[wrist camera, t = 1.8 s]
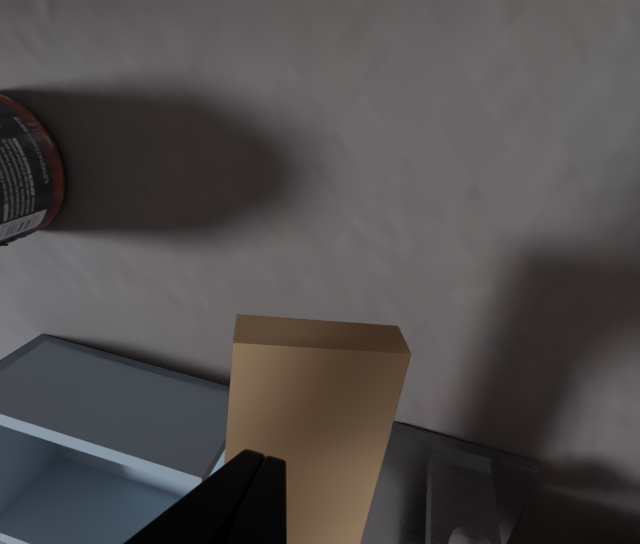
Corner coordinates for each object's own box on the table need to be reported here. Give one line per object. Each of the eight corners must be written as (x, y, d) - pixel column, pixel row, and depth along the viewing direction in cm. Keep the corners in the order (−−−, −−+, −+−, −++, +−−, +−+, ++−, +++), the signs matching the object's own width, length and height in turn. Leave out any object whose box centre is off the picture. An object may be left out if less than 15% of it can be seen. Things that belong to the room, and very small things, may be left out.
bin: (252, 393, 21) (201, 478, 16) (240, 514, 24) (195, 613, 20) (41, 333, 23) (-57, 395, 18) (57, 454, 26) (-22, 532, 22)
